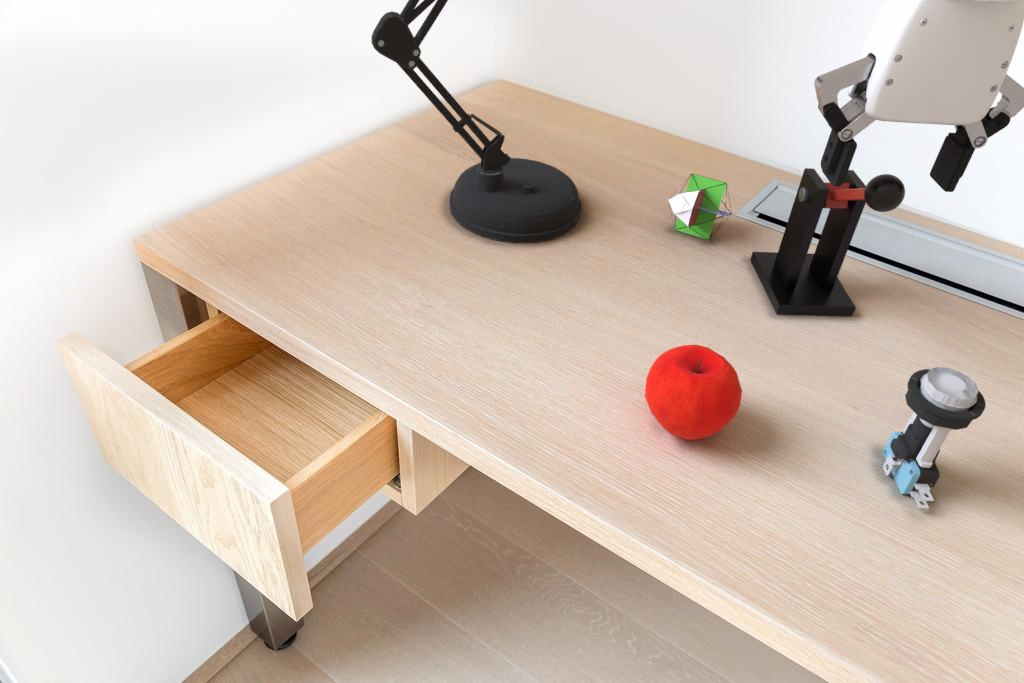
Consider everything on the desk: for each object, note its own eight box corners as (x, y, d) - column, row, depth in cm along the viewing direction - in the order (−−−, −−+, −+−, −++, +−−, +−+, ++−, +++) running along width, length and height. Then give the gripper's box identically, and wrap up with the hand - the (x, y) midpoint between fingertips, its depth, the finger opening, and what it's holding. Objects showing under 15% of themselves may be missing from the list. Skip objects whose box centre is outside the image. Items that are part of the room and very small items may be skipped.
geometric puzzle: (684, 188, 97) (681, 154, 89) (739, 204, 94) (741, 170, 87) (662, 239, 95) (657, 209, 88) (717, 257, 93) (717, 227, 86)
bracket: (852, 316, 82) (898, 206, 74) (776, 314, 81) (813, 203, 73) (819, 262, 89) (857, 157, 81) (749, 260, 89) (781, 154, 81)
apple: (628, 392, 70) (642, 326, 66) (715, 391, 71) (735, 326, 67) (646, 459, 64) (663, 392, 60) (741, 458, 65) (765, 391, 60)
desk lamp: (648, 185, 101) (731, -255, 73) (586, 290, 82) (667, -251, 54) (473, 144, 107) (487, -277, 79) (378, 233, 88) (352, -280, 60)
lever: (910, 212, 67) (914, 173, 67) (873, 211, 67) (877, 172, 66) (838, 212, 80) (841, 180, 79) (807, 211, 80) (810, 179, 79)
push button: (954, 515, 62) (1013, 423, 55) (886, 510, 62) (937, 418, 55) (922, 452, 67) (972, 361, 61) (859, 448, 67) (903, 357, 60)
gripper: (1057, -39, 61) (962, 166, 71) (838, -55, 59) (774, 157, 70) (1120, -11, 55) (1005, 208, 65) (878, -28, 53) (801, 198, 64)
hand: (886, 181), depth 68 cm, fingers open, 9 cm apart
